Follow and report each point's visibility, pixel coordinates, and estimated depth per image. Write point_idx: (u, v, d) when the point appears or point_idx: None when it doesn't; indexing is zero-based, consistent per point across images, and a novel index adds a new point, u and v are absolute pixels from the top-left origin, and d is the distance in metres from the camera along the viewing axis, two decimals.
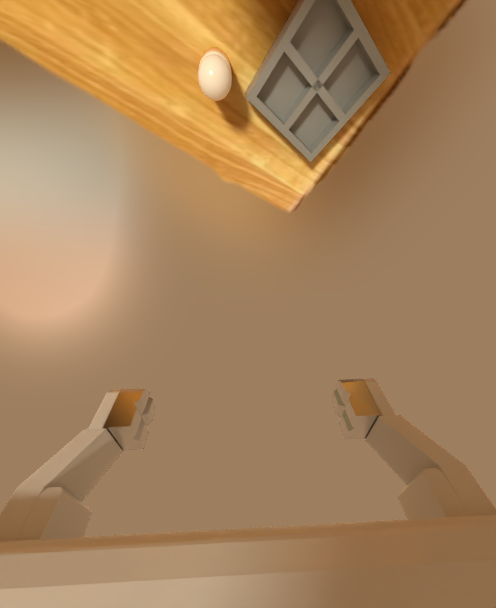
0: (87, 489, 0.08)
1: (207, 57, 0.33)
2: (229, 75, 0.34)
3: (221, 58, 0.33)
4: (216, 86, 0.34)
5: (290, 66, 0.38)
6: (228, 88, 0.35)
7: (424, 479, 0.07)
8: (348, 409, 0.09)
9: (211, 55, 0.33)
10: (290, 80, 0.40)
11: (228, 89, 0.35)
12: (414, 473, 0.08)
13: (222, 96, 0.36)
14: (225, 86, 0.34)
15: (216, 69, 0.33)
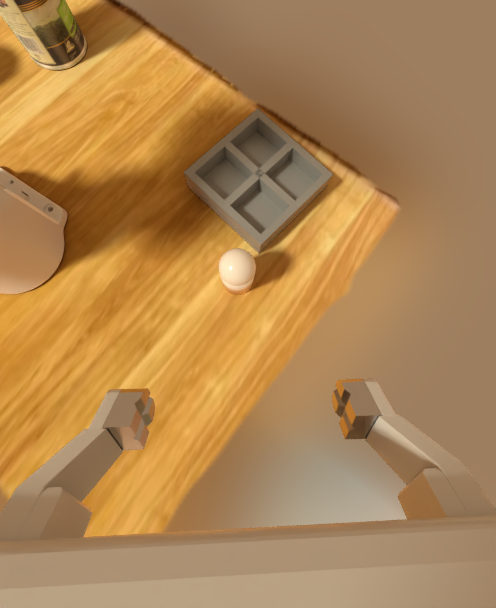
0: (87, 489, 0.08)
1: (219, 269, 0.31)
2: (235, 248, 0.31)
3: (222, 256, 0.31)
4: (240, 260, 0.29)
5: (243, 206, 0.39)
6: (245, 251, 0.30)
7: (424, 479, 0.07)
8: (347, 409, 0.09)
9: None
10: (253, 205, 0.39)
11: (246, 251, 0.31)
12: (414, 473, 0.08)
13: (251, 258, 0.30)
14: (242, 252, 0.30)
15: (227, 258, 0.29)
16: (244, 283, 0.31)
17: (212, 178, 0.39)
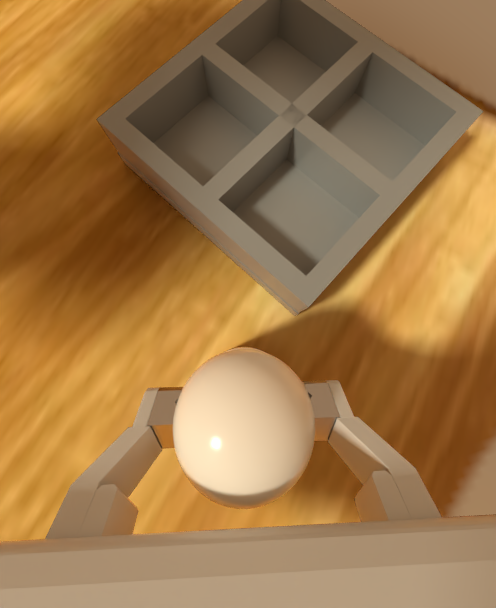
0: (131, 487, 0.08)
1: (174, 444, 0.08)
2: (235, 359, 0.08)
3: (186, 383, 0.08)
4: (260, 441, 0.06)
5: (253, 201, 0.16)
6: (276, 370, 0.08)
7: (372, 482, 0.07)
8: None
9: None
10: (278, 200, 0.16)
11: (279, 370, 0.08)
12: (369, 475, 0.08)
13: (302, 405, 0.07)
14: (267, 388, 0.07)
15: (200, 424, 0.07)
16: None
17: (178, 140, 0.17)
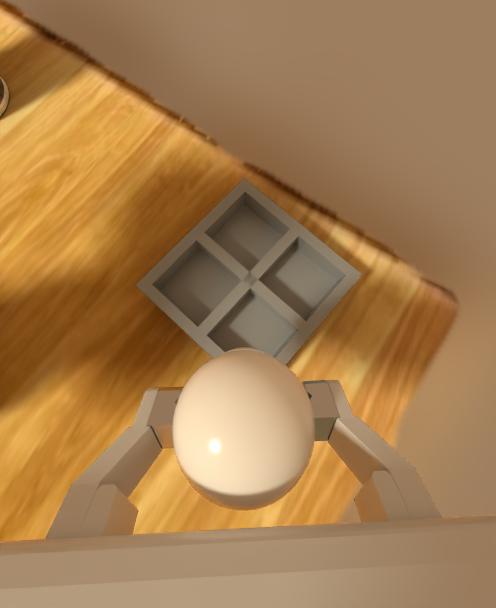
0: (131, 487, 0.08)
1: None
2: (234, 360, 0.08)
3: (186, 384, 0.08)
4: (260, 442, 0.06)
5: (229, 322, 0.26)
6: (276, 371, 0.08)
7: (372, 482, 0.07)
8: None
9: None
10: (244, 320, 0.26)
11: (279, 372, 0.08)
12: (369, 475, 0.08)
13: (302, 407, 0.07)
14: (267, 390, 0.07)
15: (199, 425, 0.07)
16: None
17: (182, 281, 0.27)
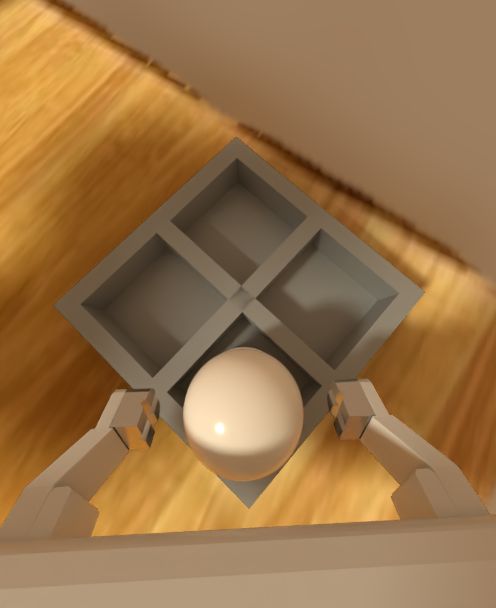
0: (94, 489, 0.08)
1: (184, 428, 0.09)
2: (235, 357, 0.09)
3: (194, 377, 0.10)
4: (256, 423, 0.08)
5: None
6: (270, 366, 0.09)
7: (416, 480, 0.07)
8: (341, 410, 0.09)
9: (183, 411, 0.10)
10: None
11: (273, 366, 0.09)
12: (407, 474, 0.08)
13: (292, 395, 0.09)
14: (262, 381, 0.08)
15: (207, 410, 0.08)
16: None
17: (138, 297, 0.17)
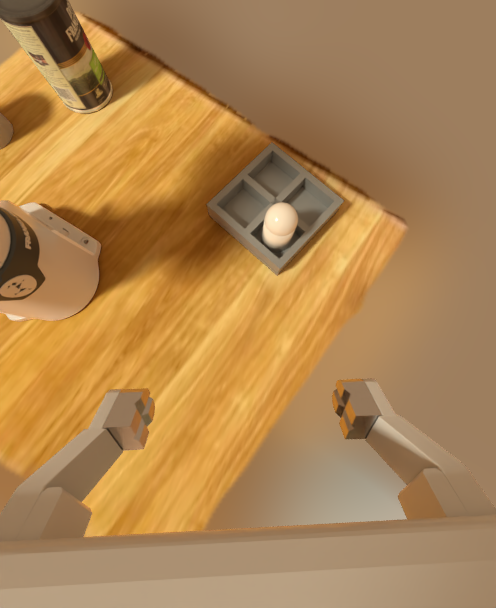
0: (87, 489, 0.08)
1: (266, 221, 0.34)
2: (279, 202, 0.34)
3: (267, 210, 0.35)
4: (286, 210, 0.33)
5: (261, 232, 0.42)
6: (289, 204, 0.34)
7: (424, 479, 0.07)
8: (347, 409, 0.09)
9: (265, 218, 0.35)
10: None
11: None
12: (414, 473, 0.08)
13: (295, 210, 0.34)
14: (287, 204, 0.34)
15: (274, 209, 0.33)
16: (288, 233, 0.35)
17: (231, 207, 0.42)
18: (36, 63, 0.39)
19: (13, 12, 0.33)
